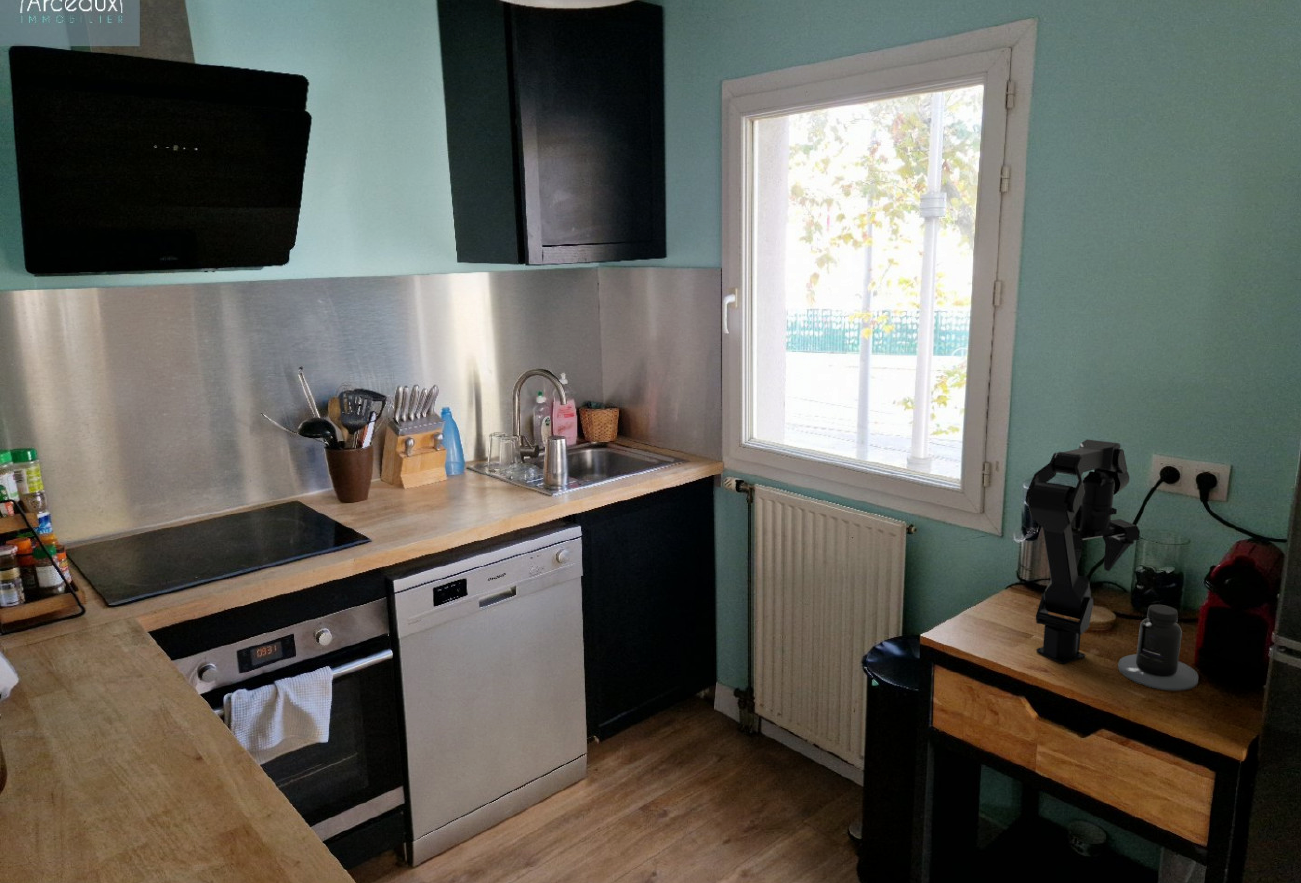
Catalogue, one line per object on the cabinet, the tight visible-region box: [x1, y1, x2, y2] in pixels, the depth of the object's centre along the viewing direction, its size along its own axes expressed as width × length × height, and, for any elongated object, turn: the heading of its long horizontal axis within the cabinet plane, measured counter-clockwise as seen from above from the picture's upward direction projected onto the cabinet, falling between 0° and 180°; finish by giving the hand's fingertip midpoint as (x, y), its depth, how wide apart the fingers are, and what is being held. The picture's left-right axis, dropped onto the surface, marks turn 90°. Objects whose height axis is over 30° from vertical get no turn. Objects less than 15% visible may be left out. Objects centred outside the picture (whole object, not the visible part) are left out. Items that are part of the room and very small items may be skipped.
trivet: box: [1117, 653, 1199, 692], centre depth 166 cm, size 13×13×1 cm
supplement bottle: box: [1136, 604, 1183, 677], centre depth 165 cm, size 7×7×12 cm
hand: (1088, 573), depth 184 cm, fingers open, 9 cm apart
